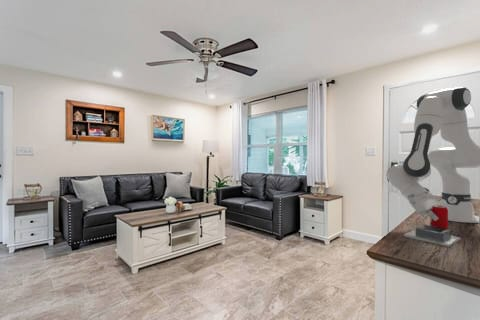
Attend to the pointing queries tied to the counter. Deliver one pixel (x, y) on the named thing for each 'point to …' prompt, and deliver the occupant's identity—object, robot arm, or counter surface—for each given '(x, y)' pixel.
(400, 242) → the counter surface
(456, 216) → the robot arm
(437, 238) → the grey socket base
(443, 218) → the beverage can
